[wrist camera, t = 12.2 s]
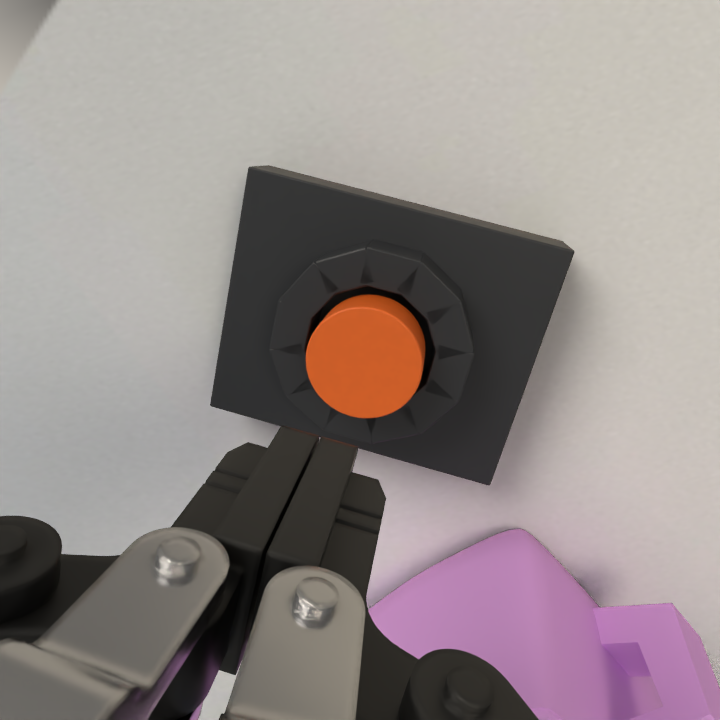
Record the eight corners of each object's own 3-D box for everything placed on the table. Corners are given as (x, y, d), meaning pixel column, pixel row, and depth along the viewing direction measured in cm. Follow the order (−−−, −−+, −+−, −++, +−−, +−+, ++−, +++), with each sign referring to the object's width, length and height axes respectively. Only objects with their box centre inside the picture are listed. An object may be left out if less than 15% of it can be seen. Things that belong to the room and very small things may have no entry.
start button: (307, 381, 21) (294, 401, 19) (330, 281, 19) (318, 293, 18) (409, 410, 20) (405, 432, 19) (438, 310, 19) (437, 325, 18)
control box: (229, 385, 25) (190, 426, 21) (267, 165, 22) (228, 167, 18) (487, 458, 24) (492, 513, 21) (563, 241, 21) (586, 260, 18)
